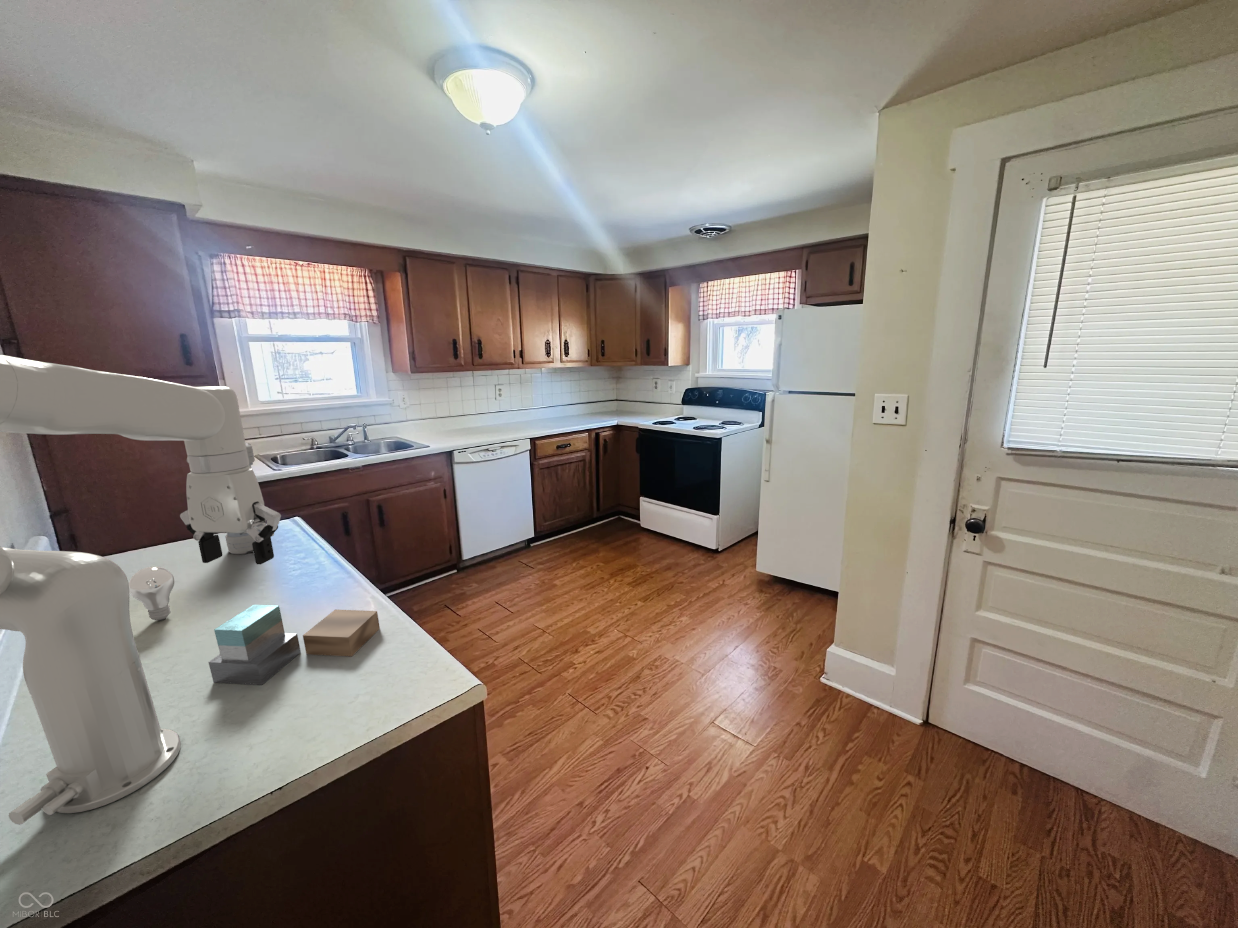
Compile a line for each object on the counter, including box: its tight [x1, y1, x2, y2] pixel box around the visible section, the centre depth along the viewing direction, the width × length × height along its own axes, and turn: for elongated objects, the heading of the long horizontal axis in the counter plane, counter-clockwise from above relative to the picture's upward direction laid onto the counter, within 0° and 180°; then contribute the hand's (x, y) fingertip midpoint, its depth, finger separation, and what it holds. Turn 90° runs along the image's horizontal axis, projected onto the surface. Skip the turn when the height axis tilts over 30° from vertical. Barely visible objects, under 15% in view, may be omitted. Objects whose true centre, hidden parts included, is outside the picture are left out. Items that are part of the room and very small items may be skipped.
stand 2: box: [302, 609, 381, 658], centre depth 93 cm, size 9×9×4 cm
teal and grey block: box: [213, 604, 286, 662], centre depth 85 cm, size 8×5×6 cm, turn 174°
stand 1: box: [208, 632, 302, 686], centre depth 86 cm, size 9×9×4 cm
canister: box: [224, 442, 261, 555], centre depth 136 cm, size 10×10×30 cm
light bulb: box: [128, 565, 176, 622], centre depth 101 cm, size 7×7×12 cm
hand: (239, 560), depth 82 cm, fingers open, 9 cm apart
